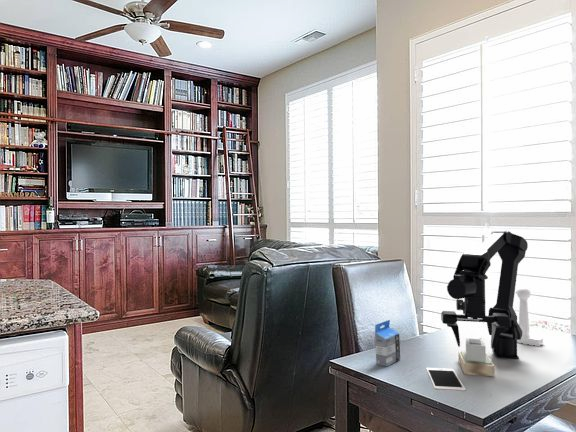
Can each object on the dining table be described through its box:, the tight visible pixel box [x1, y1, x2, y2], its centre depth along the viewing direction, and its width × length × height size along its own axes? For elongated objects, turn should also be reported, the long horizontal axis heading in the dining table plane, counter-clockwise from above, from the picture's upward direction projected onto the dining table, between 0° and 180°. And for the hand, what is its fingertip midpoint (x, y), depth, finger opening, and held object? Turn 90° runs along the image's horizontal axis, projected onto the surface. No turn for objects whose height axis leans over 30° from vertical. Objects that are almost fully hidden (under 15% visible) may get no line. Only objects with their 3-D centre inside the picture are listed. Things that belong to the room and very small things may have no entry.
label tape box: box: [374, 319, 401, 367], centre depth 134 cm, size 9×4×12 cm, turn 137°
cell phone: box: [426, 367, 467, 391], centre depth 120 cm, size 8×16×1 cm, turn 170°
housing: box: [465, 337, 487, 362], centre depth 128 cm, size 5×8×5 cm, turn 159°
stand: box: [458, 350, 496, 377], centre depth 128 cm, size 8×12×3 cm, turn 166°
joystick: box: [515, 286, 544, 347], centre depth 155 cm, size 11×8×20 cm
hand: (475, 347), depth 128 cm, fingers open, 9 cm apart
